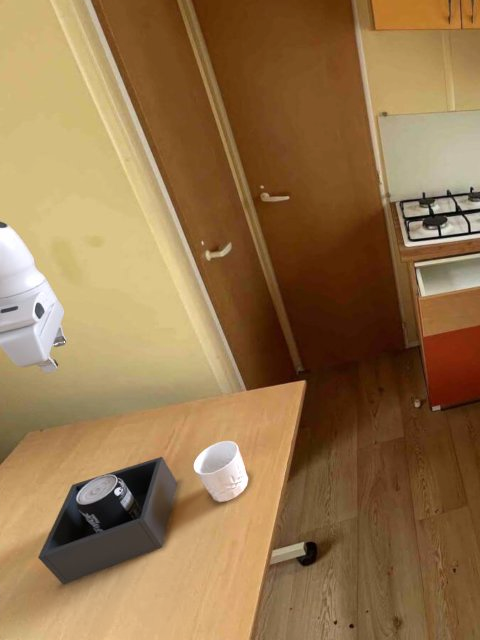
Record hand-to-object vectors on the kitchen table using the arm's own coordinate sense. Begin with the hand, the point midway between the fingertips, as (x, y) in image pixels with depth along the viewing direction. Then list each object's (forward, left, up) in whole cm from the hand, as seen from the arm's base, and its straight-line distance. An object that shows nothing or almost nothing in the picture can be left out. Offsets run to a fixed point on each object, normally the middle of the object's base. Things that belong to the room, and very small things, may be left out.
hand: (56, 356), depth 86 cm
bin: (+7, -23, -29) cm, 38 cm away
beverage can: (+7, -23, -28) cm, 37 cm away
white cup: (+25, -22, -29) cm, 44 cm away
